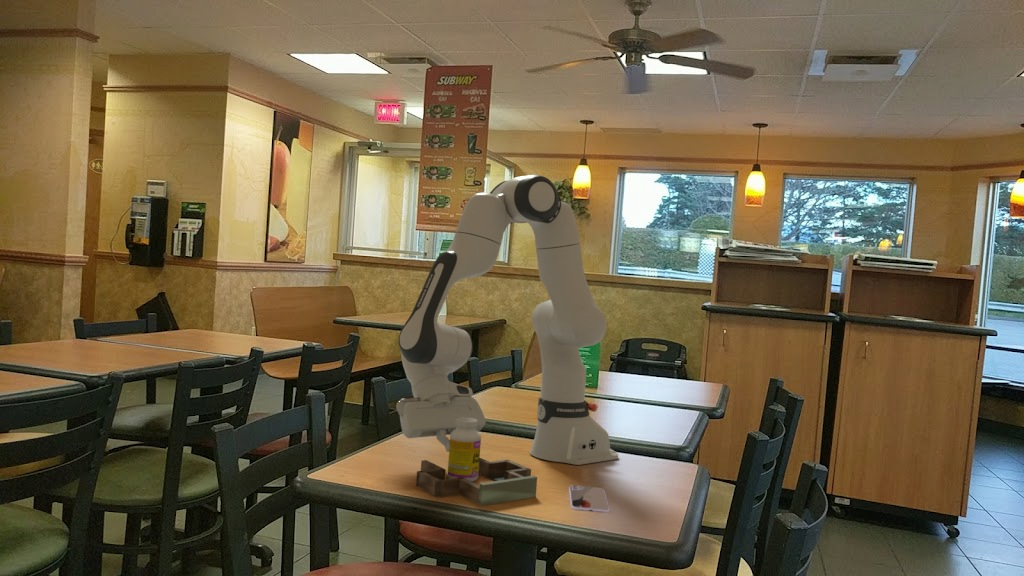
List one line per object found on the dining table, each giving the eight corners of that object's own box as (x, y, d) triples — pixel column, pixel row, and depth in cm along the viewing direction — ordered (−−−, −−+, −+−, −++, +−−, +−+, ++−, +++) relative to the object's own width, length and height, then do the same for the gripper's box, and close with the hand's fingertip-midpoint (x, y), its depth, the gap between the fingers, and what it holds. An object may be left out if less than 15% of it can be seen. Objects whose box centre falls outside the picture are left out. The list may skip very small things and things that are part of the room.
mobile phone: (571, 506, 140) (568, 483, 155) (570, 511, 140) (568, 488, 155) (610, 509, 139) (604, 486, 154) (610, 514, 139) (603, 491, 154)
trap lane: (400, 477, 153) (401, 458, 153) (489, 465, 168) (490, 448, 168) (459, 509, 135) (461, 488, 135) (554, 493, 149) (555, 474, 149)
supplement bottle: (474, 484, 151) (478, 424, 151) (443, 481, 153) (447, 420, 152) (481, 476, 158) (484, 418, 158) (451, 473, 159) (455, 415, 159)
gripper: (399, 391, 158) (418, 446, 150) (476, 387, 170) (498, 438, 162) (388, 407, 161) (406, 461, 154) (465, 402, 174) (485, 453, 166)
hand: (454, 449), depth 158 cm, fingers closed, pressing on supplement bottle
